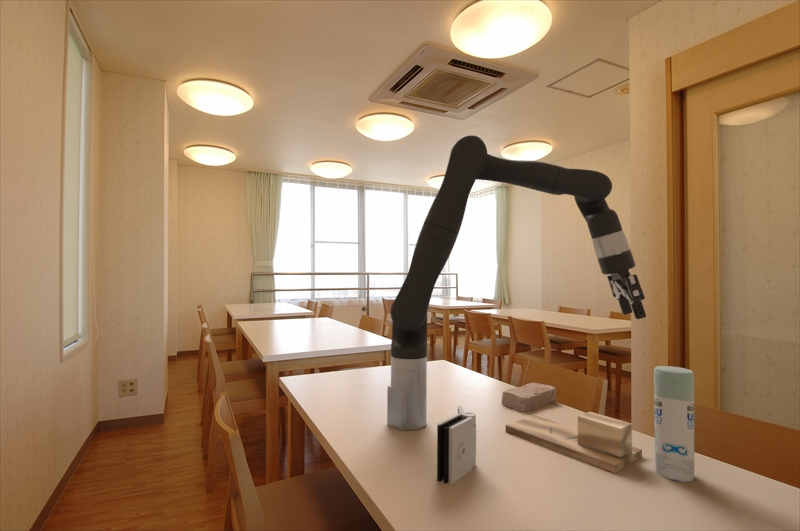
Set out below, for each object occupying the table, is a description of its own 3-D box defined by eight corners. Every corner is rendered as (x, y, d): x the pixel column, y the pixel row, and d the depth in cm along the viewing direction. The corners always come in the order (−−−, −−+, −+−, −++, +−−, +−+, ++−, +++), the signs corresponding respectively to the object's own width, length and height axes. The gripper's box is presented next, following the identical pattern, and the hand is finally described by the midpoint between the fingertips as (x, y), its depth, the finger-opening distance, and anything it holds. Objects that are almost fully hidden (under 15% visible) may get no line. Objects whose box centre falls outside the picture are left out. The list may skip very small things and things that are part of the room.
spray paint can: (696, 485, 74) (695, 375, 74) (654, 476, 77) (653, 370, 78) (693, 471, 79) (692, 368, 80) (654, 463, 83) (653, 364, 83)
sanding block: (620, 459, 81) (620, 428, 81) (577, 443, 88) (577, 415, 88) (631, 452, 84) (632, 423, 84) (589, 438, 91) (589, 411, 91)
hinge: (457, 452, 87) (458, 405, 87) (482, 457, 85) (482, 409, 85) (433, 481, 75) (434, 426, 75) (461, 488, 72) (462, 431, 73)
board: (615, 473, 78) (614, 464, 78) (505, 431, 99) (505, 424, 99) (642, 456, 85) (641, 449, 86) (534, 421, 106) (534, 415, 106)
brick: (524, 413, 113) (524, 396, 113) (500, 405, 120) (500, 389, 120) (557, 402, 123) (557, 387, 123) (533, 396, 130) (533, 381, 130)
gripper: (589, 257, 107) (609, 316, 106) (606, 256, 93) (628, 324, 92) (619, 248, 106) (639, 308, 105) (640, 246, 92) (663, 315, 91)
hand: (634, 315), depth 99 cm, fingers open, 8 cm apart
